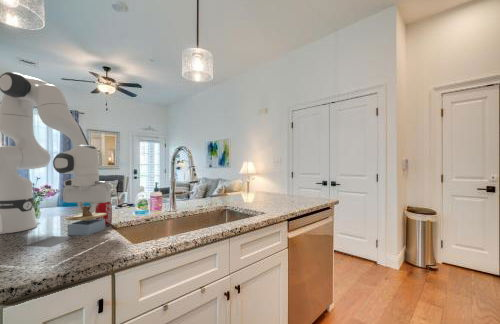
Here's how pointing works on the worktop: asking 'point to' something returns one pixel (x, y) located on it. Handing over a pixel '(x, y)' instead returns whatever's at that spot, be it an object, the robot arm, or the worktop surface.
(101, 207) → the soda can
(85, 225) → the dish
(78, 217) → the lid
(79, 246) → the worktop surface
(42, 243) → the mat
